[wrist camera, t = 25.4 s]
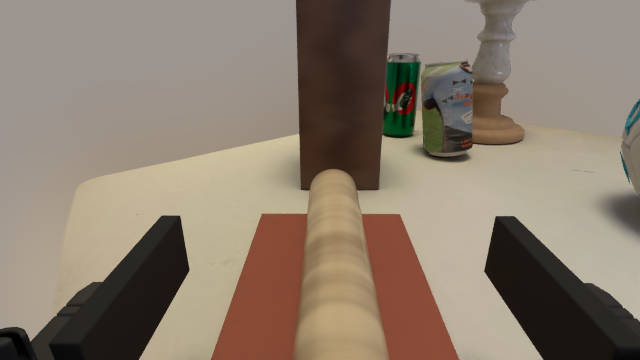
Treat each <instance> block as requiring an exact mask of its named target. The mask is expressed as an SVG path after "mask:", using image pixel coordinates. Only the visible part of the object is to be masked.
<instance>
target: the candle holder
mask: <svg viewBox="0 0 640 360" xmlns="http://www.w3.org/2000/svg"><path fill="white" fill-rule="evenodd" d="M464 1H466V2H472V3H479V4H480V7H481V12H482V14H483V15H484V16H485V20H486V24H485V28H484V30H483V31H482V32H481V33H480V34H478V36H477V38H478V39H479V40H480V41H481V45H480V49H479V52H478V54H477V57H476V59H475V61H474V63H473V65H472V70H473V79H474V82H473V132H472V142H473V143H482V144H508V143H514V142H518V141H520V140H521V139H522V138H523V136H524V129H523V128H522V127H521V126H519V125H517V124H515V123H514V121H513V120H512V119H511V118H509V117H507V116H504V115H500V110H501V109H500V108H501V99H502V98H503V97H504V96H505V95H506V94H507V93H508V89H507V88H506V86H505V84H503V81H504V80H506V79H507V78H508V77H509V75H510V73H511V68H510V60H509V44H510V41H512V40H514V39H515V38H516V35H515V34H514V32H513V31H512V28H511V26H512V21H513V19H514V17H515V16H516V15H517V14H518V13H519V12H520V11H521V10H522V8H523V5H524V4H525V3H526V2H528V1H535V0H464Z"/></svg>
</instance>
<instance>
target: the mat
mask: <svg viewBox="0 0 640 360" xmlns="http://www.w3.org/2000/svg"><path fill="white" fill-rule="evenodd" d="M361 215H362V220H363V225H364V230H365V235H366V240H367V246H368V251H369V256H370V261H371V266H372V271H373V277H374V282H375V287H376V292H377V297H378V302H379V308H380V313H381V318H382V323H383V328H384V333H385V338H386V344H387V349H388V354H389V359H390V360H459V358H458V356H457V354H456V351H455V349H454V346H453V344H452V341H451V339H450V336H449V334H448V331H447V329H446V327H445V324H444V322H443V319H442V317H441V314H440V312H439V309H438V307H437V305H436V302H435V300H434V297H433V295H432V292H431V290H430V287H429V285H428V282H427V280H426V278H425V275H424V273H423V270H422V268H421V265H420V263H419V260H418V258H417V255H416V253H415V251H414V248H413V246H412V243H411V241H410V238H409V236H408V233H407V231H406V228H405V226H404V224H403V221H402V219H401V216H400V214H361ZM306 222H307V214H262V216H261V218H260V221H259V224H258V227H257V230H256V233H255V236H254V238H253V241H252V244H251V247H250V250H249V253H248V256H247V258H246V261H245V264H244V267H243V270H242V273H241V276H240V278H239V281H238V284H237V287H236V290H235V293H234V296H233V298H232V301H231V304H230V307H229V310H228V313H227V316H226V318H225V321H224V324H223V327H222V330H221V333H220V336H219V338H218V341H217V344H216V347H215V350H214V353H213V356H212V358H211V360H292V357H293V347H294V338H295V328H296V318H297V309H298V299H299V290H300V280H301V270H302V261H303V251H304V241H305V232H306Z"/></svg>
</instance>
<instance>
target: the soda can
mask: <svg viewBox="0 0 640 360" xmlns="http://www.w3.org/2000/svg"><path fill="white" fill-rule="evenodd" d="M418 56H419V54H407V53H396V54H389V58H388V59H387V67H386V82H385V97H384V113H383V128H382V131H383V133H384V134H386V135H388V136H392V137H407V136H410V135H411V134H412V133H413V132H414V126H415V116H416V106H417V95H418V86H419V75H420V65H421V62H420V60H419V57H418Z"/></svg>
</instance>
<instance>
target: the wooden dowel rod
mask: <svg viewBox="0 0 640 360" xmlns="http://www.w3.org/2000/svg"><path fill="white" fill-rule="evenodd" d="M292 360H390V359H389V354H388V349H387V344H386V338H385V333H384V328H383V323H382V318H381V313H380V308H379V302H378V297H377V292H376V287H375V282H374V277H373V271H372V266H371V261H370V256H369V251H368V246H367V240H366V235H365V230H364V225H363V220H362V215H361V209H360V204H359V199H358V194H357V189H356V184H355V182H354V180H353V178H352V177H351V176H350V175H349V174H347V173H346V172H344V171H341V170H337V169H329V170H325V171H323V172H321V173H319V174H318V175H317V176H316V177H315V178H314V179H313V181H312V183H311V186H310V193H309V203H308V212H307V222H306V232H305V241H304V251H303V261H302V270H301V280H300V290H299V299H298V309H297V318H296V328H295V338H294V347H293V357H292Z"/></svg>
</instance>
